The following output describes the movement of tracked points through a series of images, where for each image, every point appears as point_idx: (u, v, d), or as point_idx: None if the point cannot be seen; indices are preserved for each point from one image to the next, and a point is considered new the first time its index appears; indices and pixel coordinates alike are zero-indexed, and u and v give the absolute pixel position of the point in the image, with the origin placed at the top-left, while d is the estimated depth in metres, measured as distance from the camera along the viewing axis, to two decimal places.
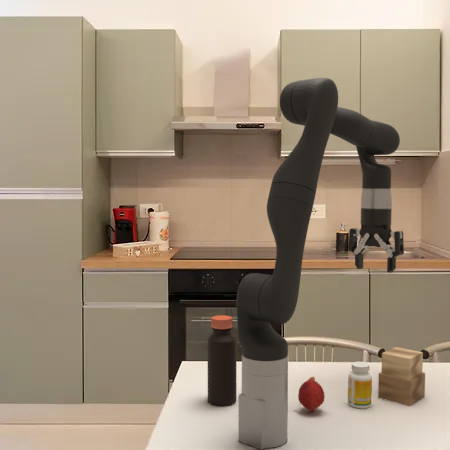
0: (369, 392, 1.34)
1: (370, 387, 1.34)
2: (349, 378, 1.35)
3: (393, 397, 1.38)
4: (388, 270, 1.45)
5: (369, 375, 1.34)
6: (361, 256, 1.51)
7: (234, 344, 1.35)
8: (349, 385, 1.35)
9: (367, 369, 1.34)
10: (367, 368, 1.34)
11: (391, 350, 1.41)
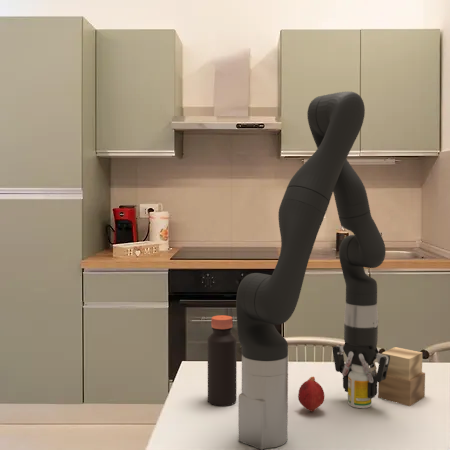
0: None
1: None
2: (349, 378, 1.35)
3: (393, 397, 1.38)
4: (369, 396, 1.33)
5: None
6: None
7: (234, 344, 1.35)
8: (349, 385, 1.35)
9: None
10: None
11: (390, 351, 1.41)
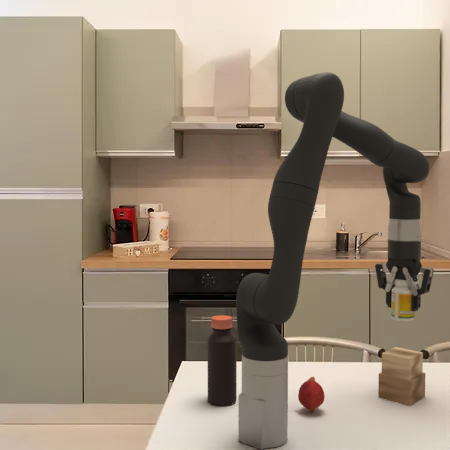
0: None
1: None
2: (393, 293, 1.38)
3: (393, 397, 1.38)
4: (412, 309, 1.36)
5: None
6: None
7: (234, 344, 1.35)
8: (393, 299, 1.38)
9: None
10: None
11: (391, 350, 1.41)
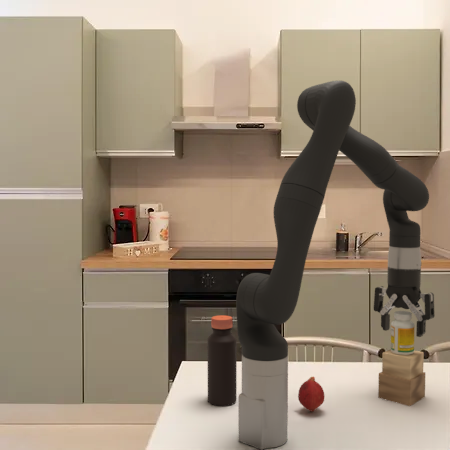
0: (412, 339, 1.37)
1: (413, 334, 1.38)
2: (392, 326, 1.38)
3: (393, 396, 1.38)
4: (417, 334, 1.36)
5: (412, 323, 1.38)
6: (387, 317, 1.42)
7: (234, 344, 1.35)
8: (392, 333, 1.39)
9: (410, 317, 1.37)
10: (410, 316, 1.37)
11: None
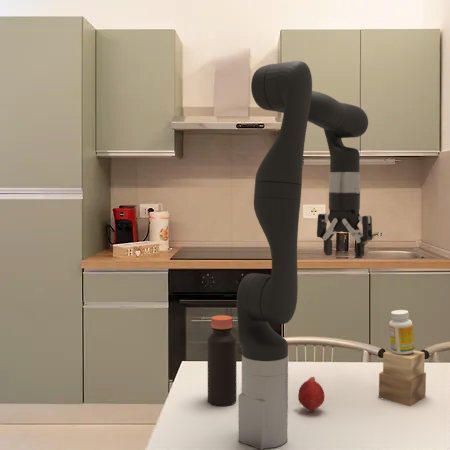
0: (412, 337, 1.38)
1: (412, 332, 1.38)
2: (392, 327, 1.38)
3: (393, 396, 1.37)
4: (356, 256, 1.41)
5: (410, 321, 1.38)
6: (330, 242, 1.47)
7: (234, 344, 1.35)
8: (392, 334, 1.38)
9: (408, 315, 1.38)
10: (408, 314, 1.38)
11: None
